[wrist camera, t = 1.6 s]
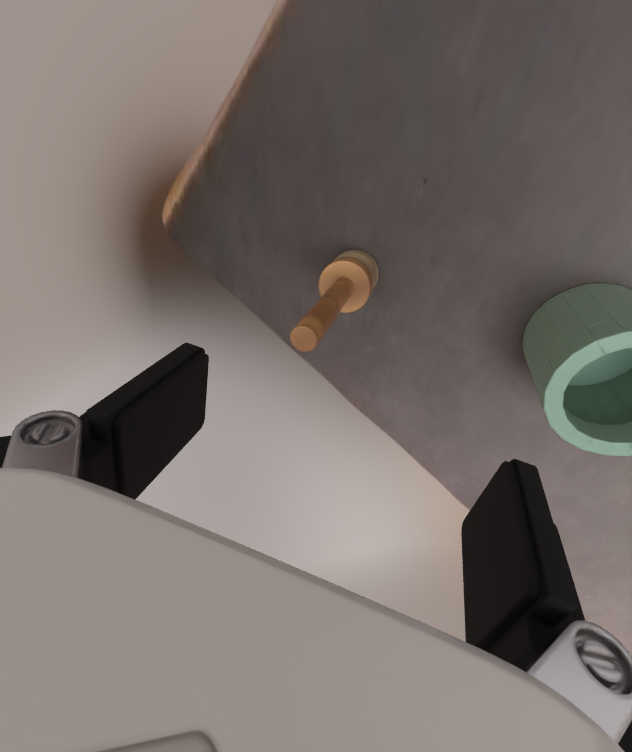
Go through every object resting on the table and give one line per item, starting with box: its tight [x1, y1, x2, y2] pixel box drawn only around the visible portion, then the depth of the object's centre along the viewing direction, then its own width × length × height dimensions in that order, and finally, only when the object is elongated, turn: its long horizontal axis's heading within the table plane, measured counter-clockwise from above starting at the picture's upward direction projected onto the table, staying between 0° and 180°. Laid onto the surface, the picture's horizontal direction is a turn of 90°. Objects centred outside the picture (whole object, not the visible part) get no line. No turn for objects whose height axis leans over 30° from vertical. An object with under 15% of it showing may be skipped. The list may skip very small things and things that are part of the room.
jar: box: [523, 283, 632, 456], centre depth 29 cm, size 10×10×10 cm
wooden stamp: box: [290, 249, 378, 352], centre depth 30 cm, size 5×5×16 cm
